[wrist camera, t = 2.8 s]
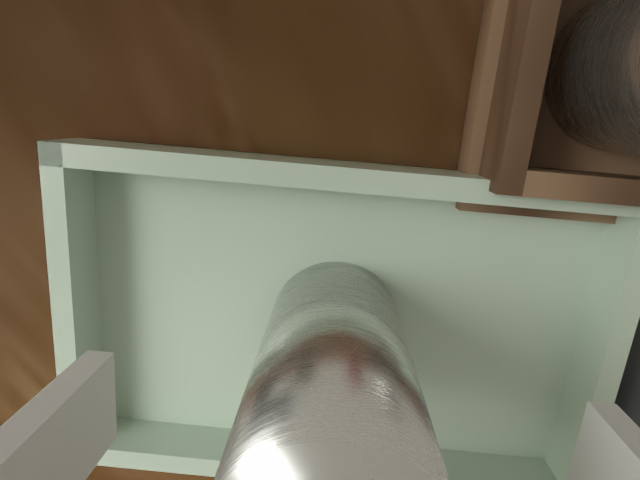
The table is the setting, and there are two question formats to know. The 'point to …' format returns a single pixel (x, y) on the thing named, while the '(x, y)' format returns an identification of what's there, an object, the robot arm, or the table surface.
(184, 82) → the table surface
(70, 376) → the robot arm
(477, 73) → the tray
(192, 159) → the tray
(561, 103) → the cylinder
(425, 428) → the cylinder
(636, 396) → the grey square button housing
